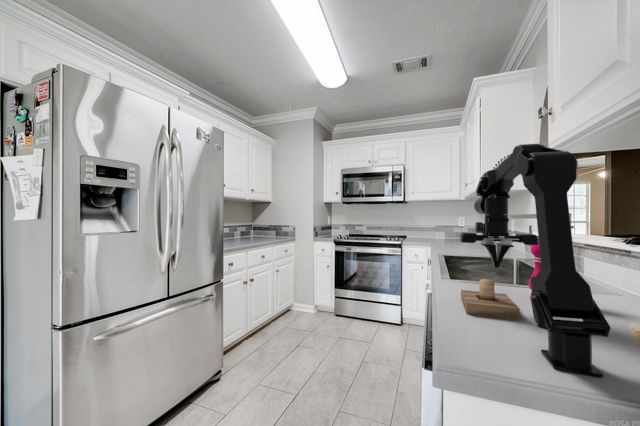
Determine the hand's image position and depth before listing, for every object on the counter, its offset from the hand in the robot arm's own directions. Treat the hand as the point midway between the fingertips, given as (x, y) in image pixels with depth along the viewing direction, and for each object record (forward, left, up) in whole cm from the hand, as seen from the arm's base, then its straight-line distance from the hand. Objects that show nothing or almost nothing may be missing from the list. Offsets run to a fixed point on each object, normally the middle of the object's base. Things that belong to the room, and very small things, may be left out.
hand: (496, 267), depth 78 cm
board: (-3, +3, -12) cm, 12 cm away
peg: (-3, +3, -12) cm, 12 cm away
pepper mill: (+13, -15, -12) cm, 23 cm away
